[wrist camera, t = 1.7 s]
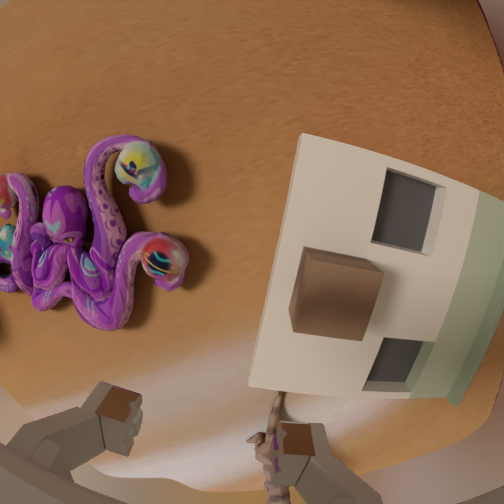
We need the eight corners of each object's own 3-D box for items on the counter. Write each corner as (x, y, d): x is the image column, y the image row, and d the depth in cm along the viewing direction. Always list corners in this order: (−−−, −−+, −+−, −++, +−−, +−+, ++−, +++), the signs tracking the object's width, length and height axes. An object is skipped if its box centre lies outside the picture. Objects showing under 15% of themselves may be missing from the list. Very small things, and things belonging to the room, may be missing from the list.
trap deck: (298, 136, 27) (306, 129, 23) (506, 206, 28) (530, 211, 23) (248, 372, 33) (247, 398, 28) (443, 386, 33) (458, 405, 29)
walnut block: (303, 246, 27) (311, 259, 22) (366, 258, 27) (384, 273, 23) (288, 309, 28) (293, 332, 24) (348, 318, 28) (362, 341, 24)
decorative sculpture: (195, 331, 32) (202, 136, 27) (184, 356, 28) (189, 131, 22) (7, 294, 33) (-5, 149, 27) (-14, 307, 29) (-31, 151, 23)
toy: (268, 501, 32) (259, 532, 23) (235, 393, 39) (216, 398, 30) (319, 489, 32) (323, 519, 23) (286, 379, 39) (282, 382, 30)
